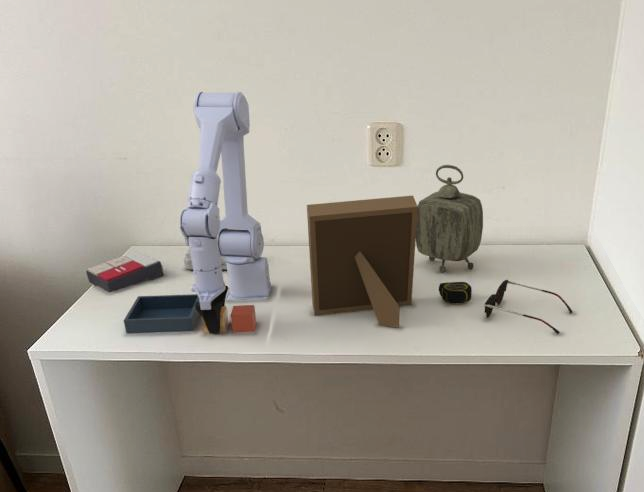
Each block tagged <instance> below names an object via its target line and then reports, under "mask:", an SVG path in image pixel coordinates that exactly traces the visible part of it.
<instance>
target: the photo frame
mask: <svg viewBox="0 0 644 492" xmlns="http://www.w3.org/2000/svg"><path fill="white" fill-rule="evenodd" d="M417 211H418V204H417V202H416V199H415V196H414V195H403V196H392V197H380V198H370V199H357V200H356V199H355V200H346V201H335V202H325V203H312V204H311V203H310V204H306V217H307V232H308V233H307V234H308V252H309V268H310V269H309V270H310V285H311V286H310V287H311V302H312V309H313V313H314V316H324V315H333V314H343V313H351V312H360V311H361V312H362V311H370V310H371V311H372V310H373V312H374V314H375V318H376V321H377V324H378V325H379V326H383V327H392V328H399V327H400V307H409V306H412V303H413V302H412V301H413V283H414V269H415V256H416V226H417Z"/></svg>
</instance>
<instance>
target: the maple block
mask: <svg viewBox="0 0 644 492" xmlns="http://www.w3.org/2000/svg"><path fill="white" fill-rule="evenodd" d="M201 320H202V326H203V331H204V334H210V333H209V331H208V329H207V326H206V324H205V322H204V320H203V318H202V317H201ZM229 324H230V323H229V316H228V310H227V305H225V306H222V308H221V313H220V332H219V333H220V334H221V333H227V330H228V327H229ZM219 333H218V334H219Z"/></svg>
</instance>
